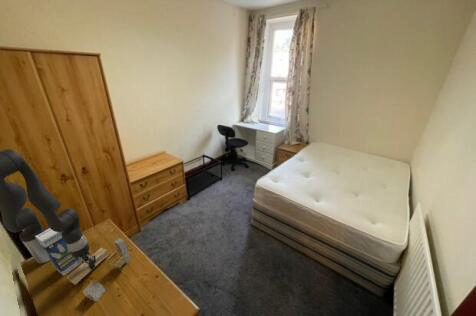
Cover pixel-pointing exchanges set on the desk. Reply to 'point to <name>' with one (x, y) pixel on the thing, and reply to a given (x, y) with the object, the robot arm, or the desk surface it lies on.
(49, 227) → the robot arm
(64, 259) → the string lights box
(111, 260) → the bracket stand
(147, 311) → the desk surface
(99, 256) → the pine rail
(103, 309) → the desk surface
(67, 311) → the desk surface
